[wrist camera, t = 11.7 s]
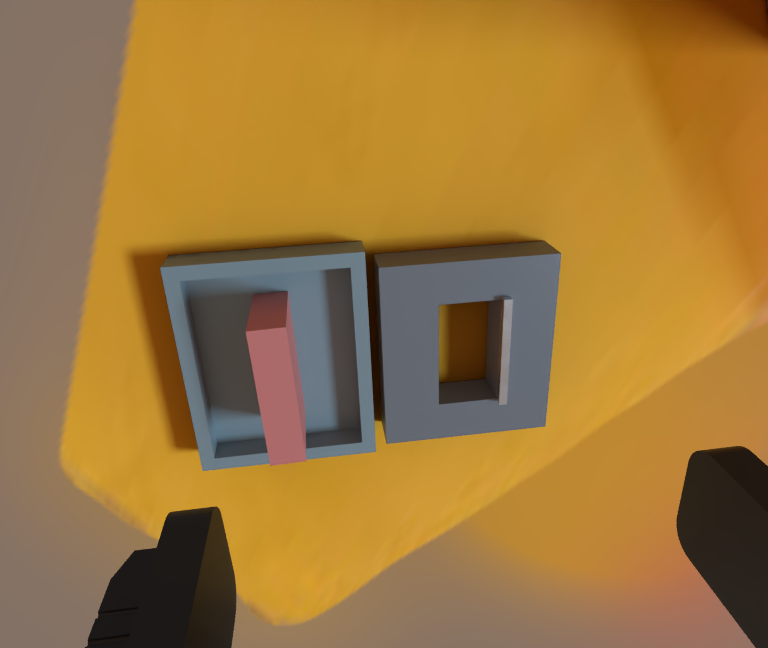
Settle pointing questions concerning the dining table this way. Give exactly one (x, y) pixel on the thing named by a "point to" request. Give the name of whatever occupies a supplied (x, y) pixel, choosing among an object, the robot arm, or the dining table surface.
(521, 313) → the grey square-hole plate
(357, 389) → the tray
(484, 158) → the dining table surface
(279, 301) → the pink block
